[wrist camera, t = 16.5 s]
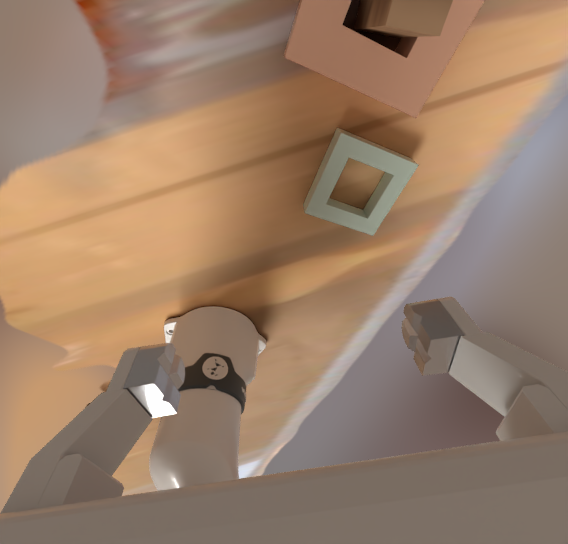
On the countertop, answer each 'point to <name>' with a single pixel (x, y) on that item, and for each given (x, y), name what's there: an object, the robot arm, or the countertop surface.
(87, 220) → the countertop surface
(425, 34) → the plug
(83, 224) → the countertop surface
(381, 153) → the green square frame
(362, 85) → the socket block
